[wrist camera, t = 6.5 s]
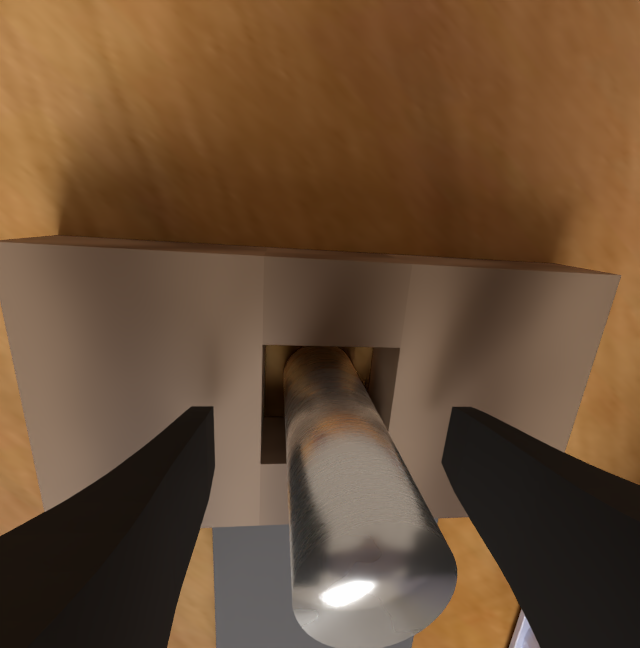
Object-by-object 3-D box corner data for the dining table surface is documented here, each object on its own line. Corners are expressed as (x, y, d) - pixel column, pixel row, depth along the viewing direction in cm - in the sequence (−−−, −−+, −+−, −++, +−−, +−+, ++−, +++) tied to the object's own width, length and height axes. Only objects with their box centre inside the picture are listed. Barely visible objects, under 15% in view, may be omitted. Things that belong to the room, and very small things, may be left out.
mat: (436, 506, 18) (439, 513, 17) (406, 652, 21) (408, 660, 20) (213, 514, 16) (212, 522, 16) (218, 669, 19) (217, 678, 19)
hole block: (554, 263, 14) (621, 275, 12) (501, 464, 17) (544, 514, 14) (56, 235, 12) (-13, 241, 9) (93, 473, 15) (49, 534, 12)
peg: (355, 342, 14) (470, 518, 6) (350, 406, 15) (443, 641, 7) (283, 342, 14) (295, 528, 6) (282, 407, 15) (289, 658, 6)
